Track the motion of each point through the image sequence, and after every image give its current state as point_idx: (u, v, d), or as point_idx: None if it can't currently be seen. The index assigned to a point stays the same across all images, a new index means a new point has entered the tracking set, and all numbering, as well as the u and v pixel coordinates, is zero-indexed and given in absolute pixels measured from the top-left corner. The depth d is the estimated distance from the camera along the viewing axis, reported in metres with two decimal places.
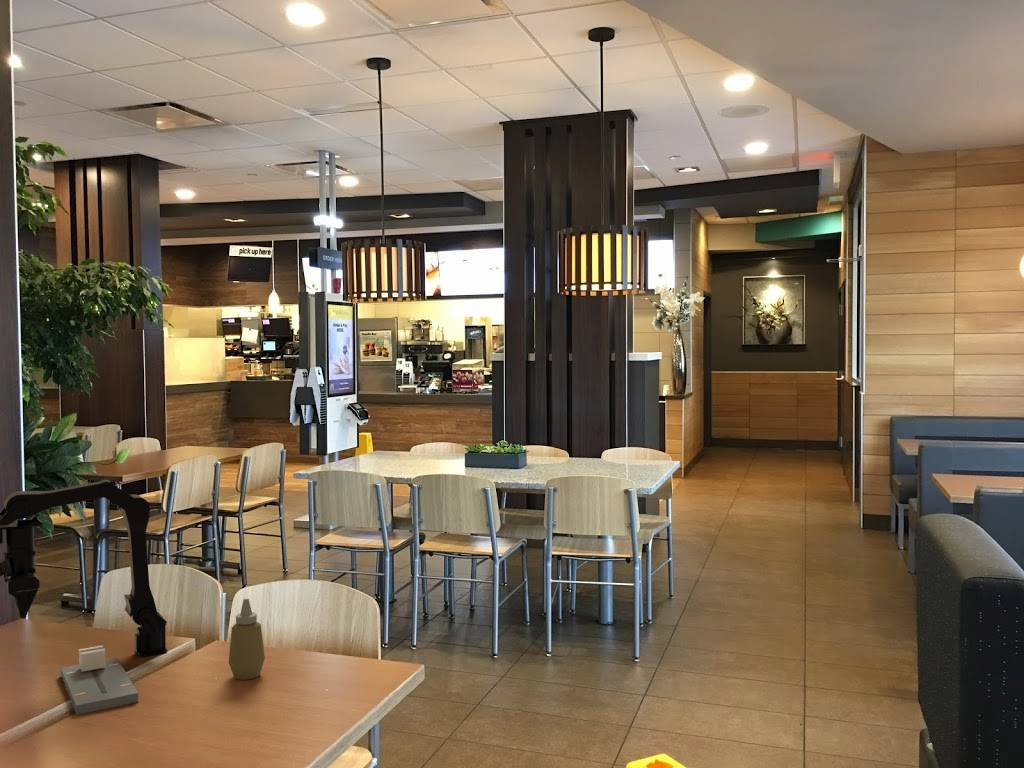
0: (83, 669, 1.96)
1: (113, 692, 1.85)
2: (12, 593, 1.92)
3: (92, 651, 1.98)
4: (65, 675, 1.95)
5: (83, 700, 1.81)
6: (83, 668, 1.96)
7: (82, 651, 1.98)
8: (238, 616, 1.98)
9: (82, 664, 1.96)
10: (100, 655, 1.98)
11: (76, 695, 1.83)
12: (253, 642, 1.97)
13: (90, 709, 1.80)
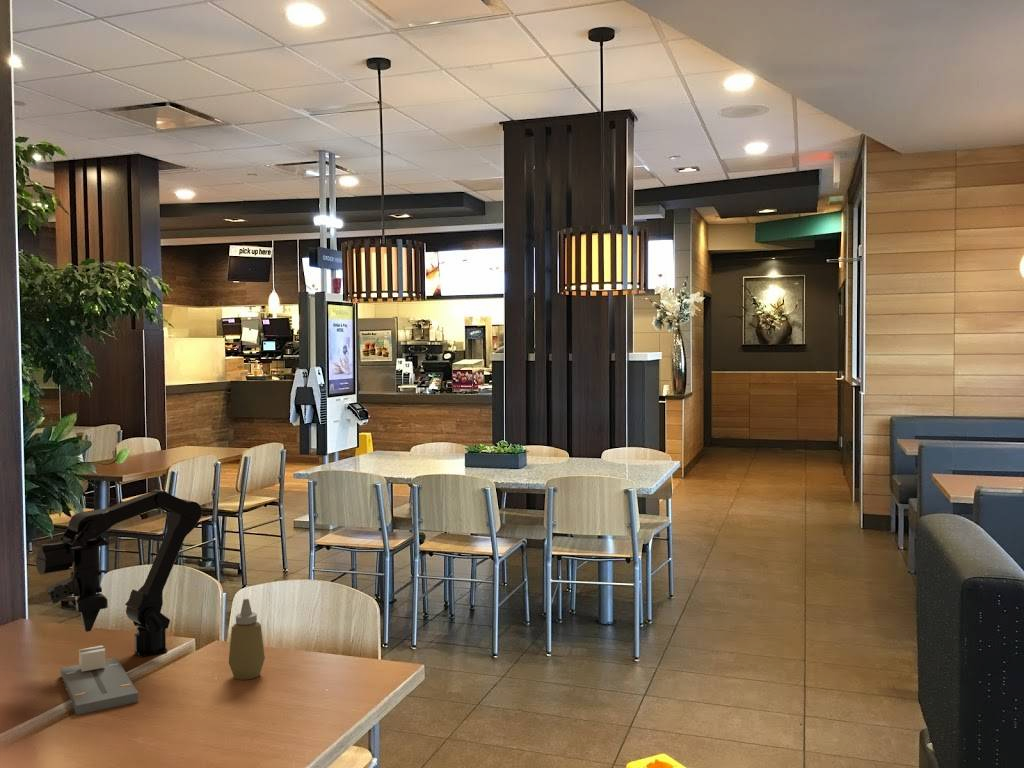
0: (83, 669, 1.96)
1: (113, 692, 1.85)
2: None
3: (92, 651, 1.98)
4: (65, 675, 1.95)
5: (83, 700, 1.81)
6: (83, 668, 1.96)
7: (82, 651, 1.98)
8: (238, 616, 1.98)
9: (82, 664, 1.96)
10: (100, 655, 1.98)
11: (76, 695, 1.83)
12: (253, 642, 1.97)
13: (90, 709, 1.80)
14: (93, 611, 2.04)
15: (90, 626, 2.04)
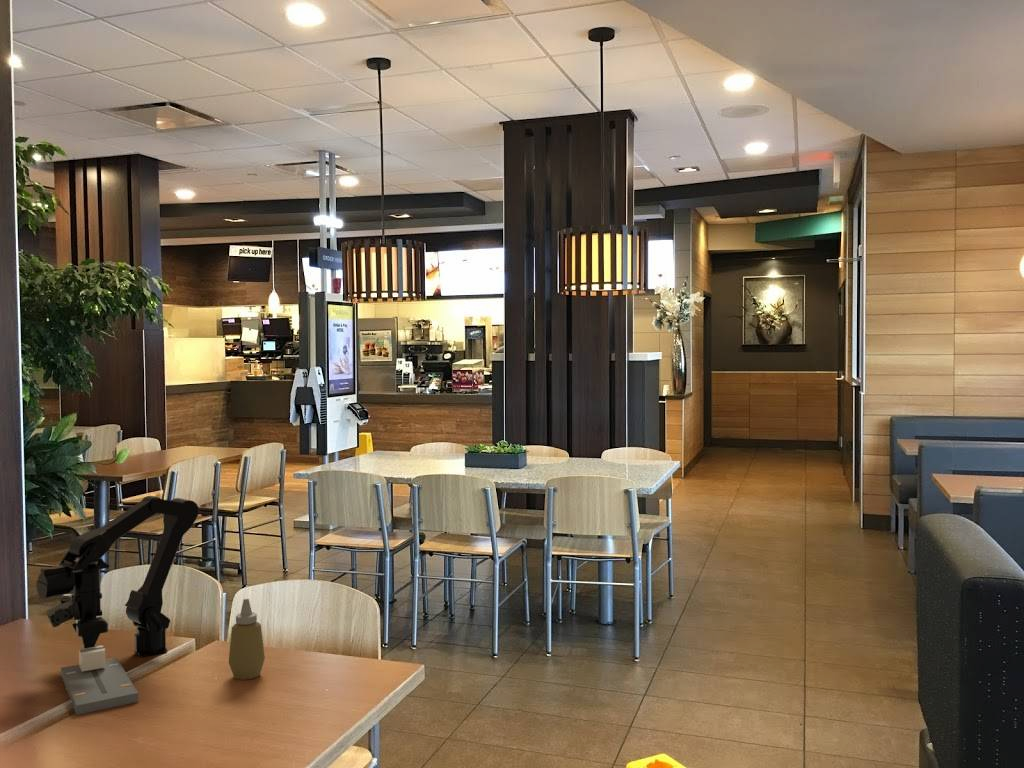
0: (83, 669, 1.96)
1: (113, 692, 1.85)
2: None
3: (92, 651, 1.98)
4: (65, 675, 1.95)
5: (83, 700, 1.81)
6: (83, 668, 1.96)
7: (82, 651, 1.98)
8: (238, 616, 1.98)
9: (82, 664, 1.96)
10: (100, 655, 1.98)
11: (76, 695, 1.83)
12: (253, 642, 1.97)
13: (90, 709, 1.80)
14: (93, 634, 2.04)
15: None
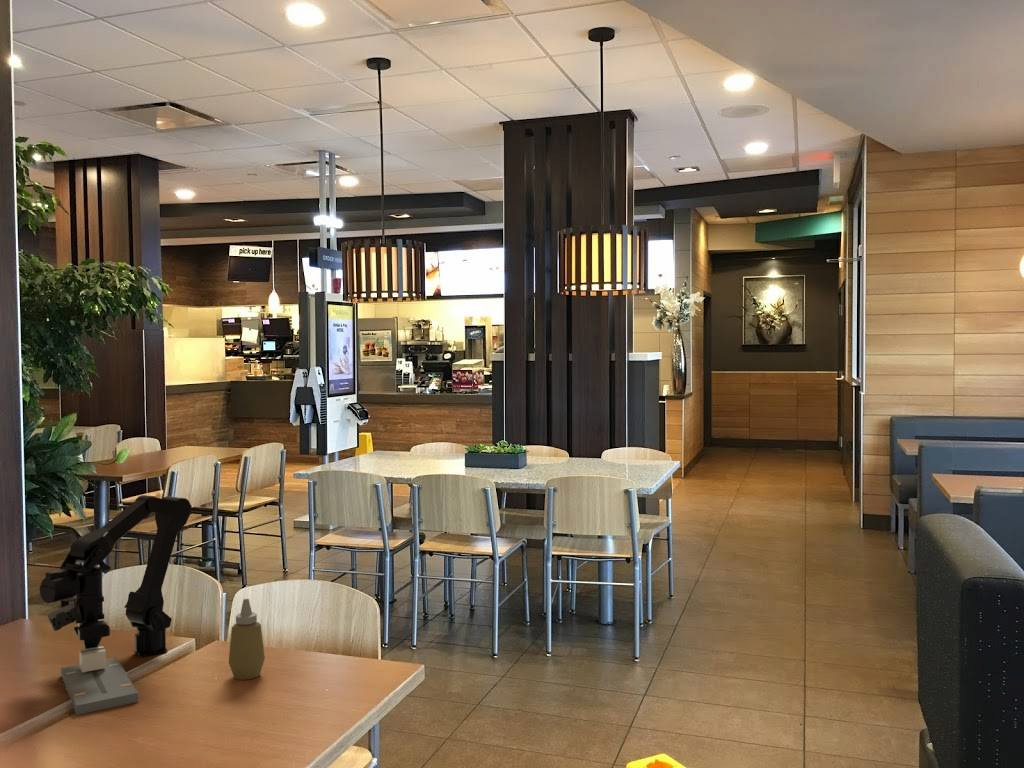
0: (83, 670, 1.96)
1: (113, 692, 1.85)
2: None
3: (92, 652, 1.97)
4: (65, 675, 1.95)
5: (83, 700, 1.81)
6: (84, 669, 1.96)
7: (82, 652, 1.97)
8: (238, 616, 1.98)
9: (82, 665, 1.96)
10: (101, 655, 1.98)
11: (76, 695, 1.83)
12: (253, 642, 1.97)
13: (90, 709, 1.80)
14: (95, 638, 2.01)
15: None
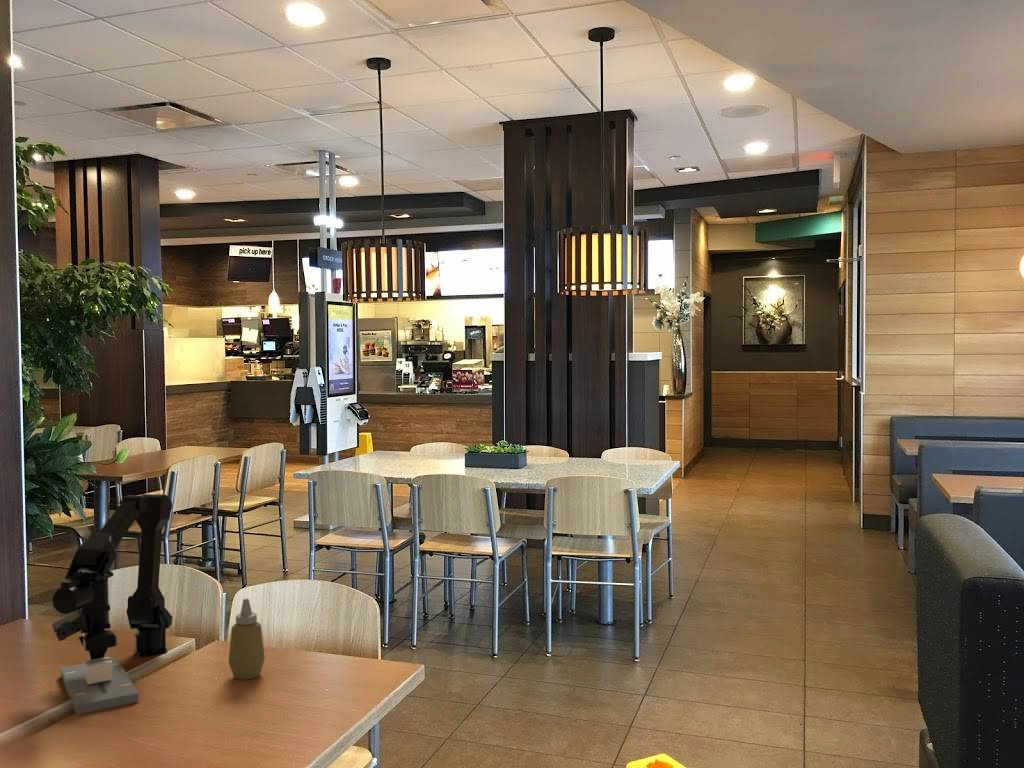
0: (89, 682, 1.89)
1: (113, 692, 1.85)
2: None
3: (98, 663, 1.90)
4: (65, 675, 1.95)
5: (83, 700, 1.81)
6: (89, 680, 1.89)
7: (88, 663, 1.90)
8: (238, 616, 1.98)
9: (88, 676, 1.89)
10: (107, 666, 1.91)
11: (76, 695, 1.83)
12: (253, 642, 1.97)
13: (90, 709, 1.80)
14: (101, 648, 1.94)
15: None
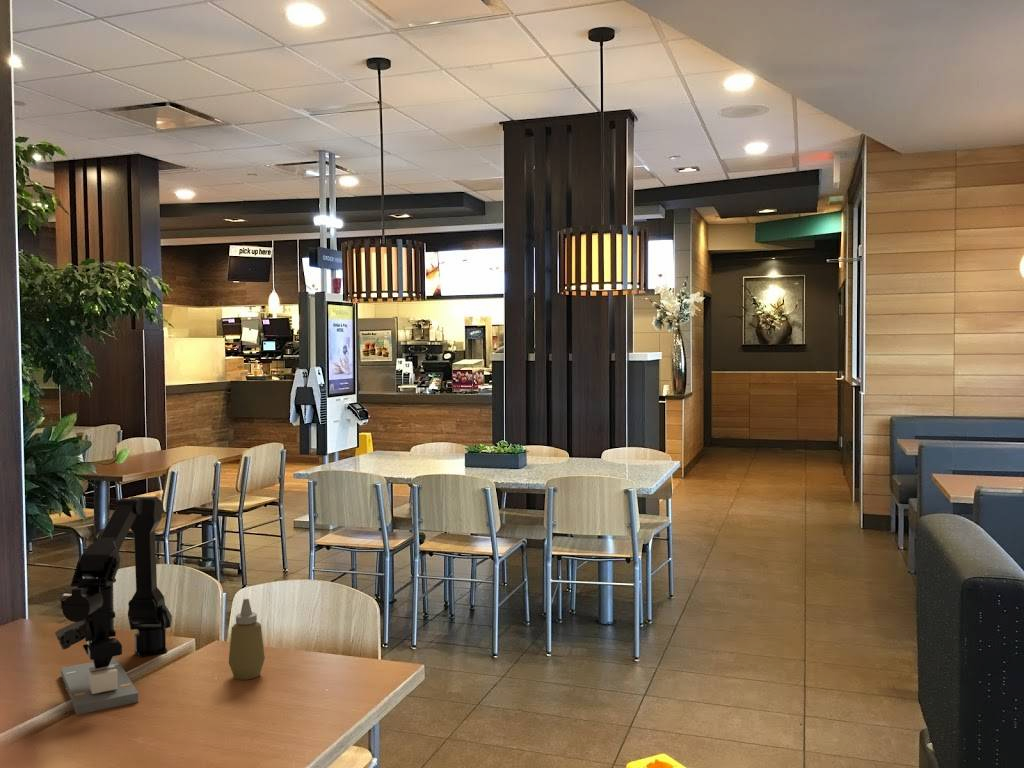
0: (94, 691, 1.83)
1: (113, 692, 1.85)
2: None
3: (103, 672, 1.85)
4: (65, 675, 1.95)
5: (83, 700, 1.81)
6: (94, 690, 1.83)
7: (92, 672, 1.85)
8: (238, 616, 1.98)
9: (93, 686, 1.83)
10: (112, 676, 1.85)
11: (76, 695, 1.83)
12: (253, 642, 1.97)
13: (90, 709, 1.80)
14: (106, 657, 1.88)
15: None
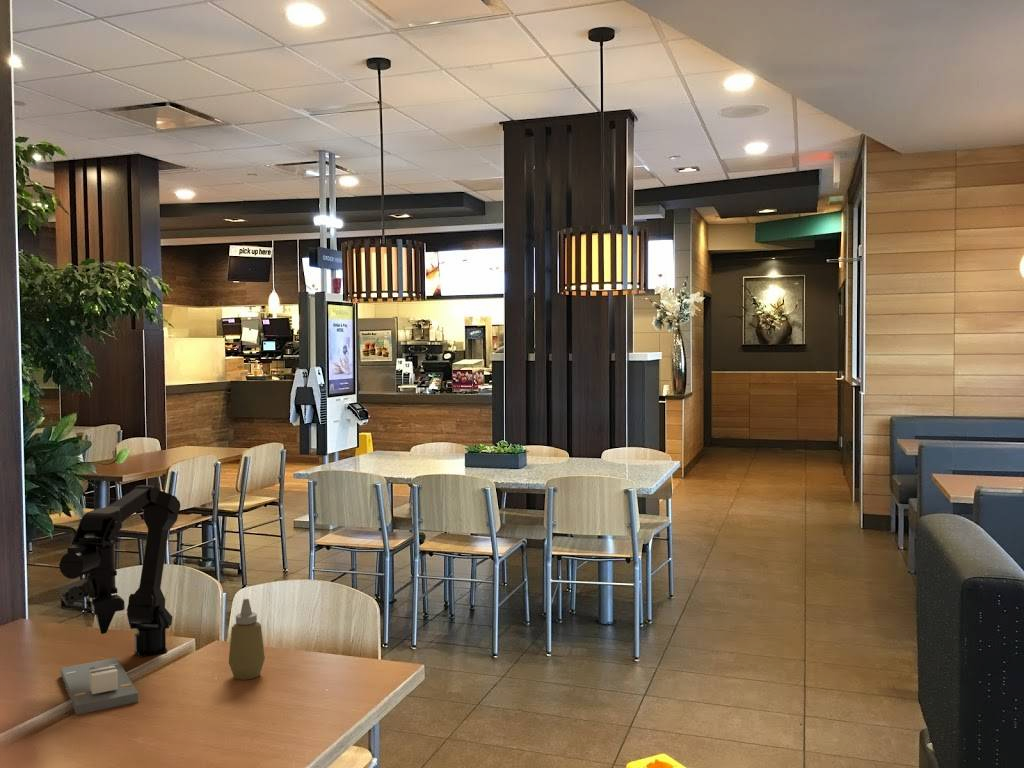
0: (94, 691, 1.83)
1: (113, 692, 1.85)
2: None
3: (103, 672, 1.85)
4: (65, 675, 1.95)
5: (83, 700, 1.81)
6: (94, 690, 1.83)
7: (93, 672, 1.84)
8: (238, 616, 1.98)
9: (93, 686, 1.83)
10: (112, 676, 1.85)
11: (76, 695, 1.83)
12: (253, 642, 1.97)
13: (90, 709, 1.80)
14: (109, 613, 1.97)
15: (106, 628, 1.97)
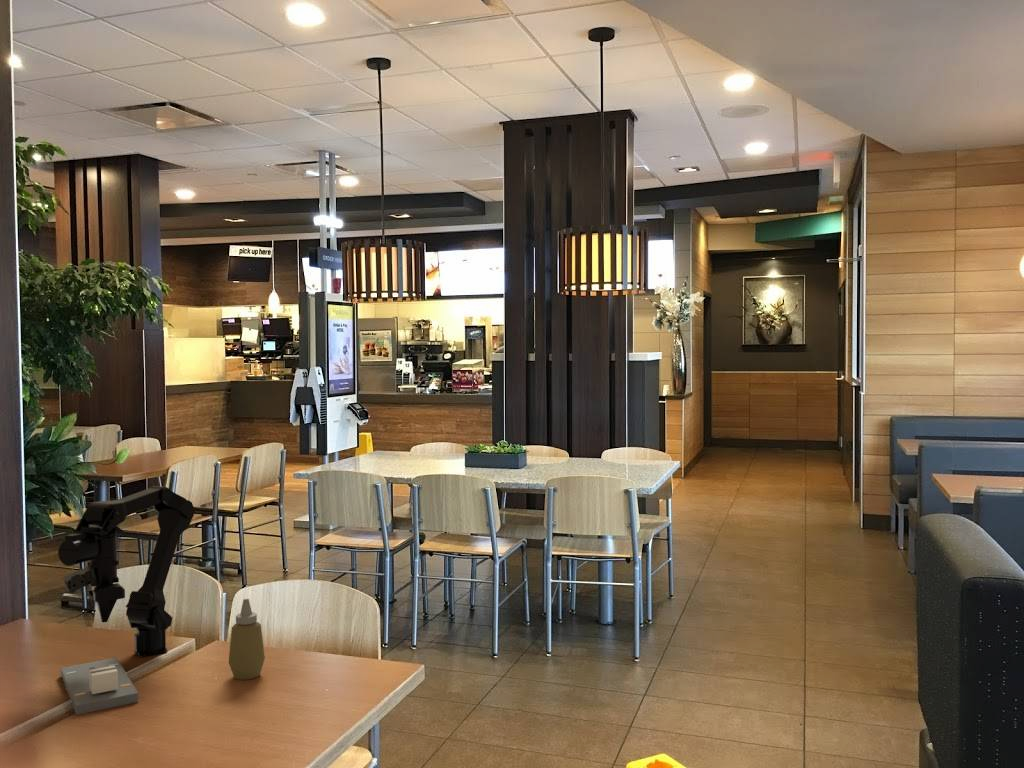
0: (94, 691, 1.83)
1: (113, 692, 1.85)
2: None
3: (103, 672, 1.85)
4: (65, 675, 1.95)
5: (83, 700, 1.81)
6: (94, 690, 1.83)
7: (93, 672, 1.84)
8: (238, 616, 1.98)
9: (93, 686, 1.83)
10: (112, 676, 1.85)
11: (76, 695, 1.83)
12: (253, 642, 1.97)
13: (90, 709, 1.80)
14: (110, 601, 2.01)
15: (107, 617, 2.02)
